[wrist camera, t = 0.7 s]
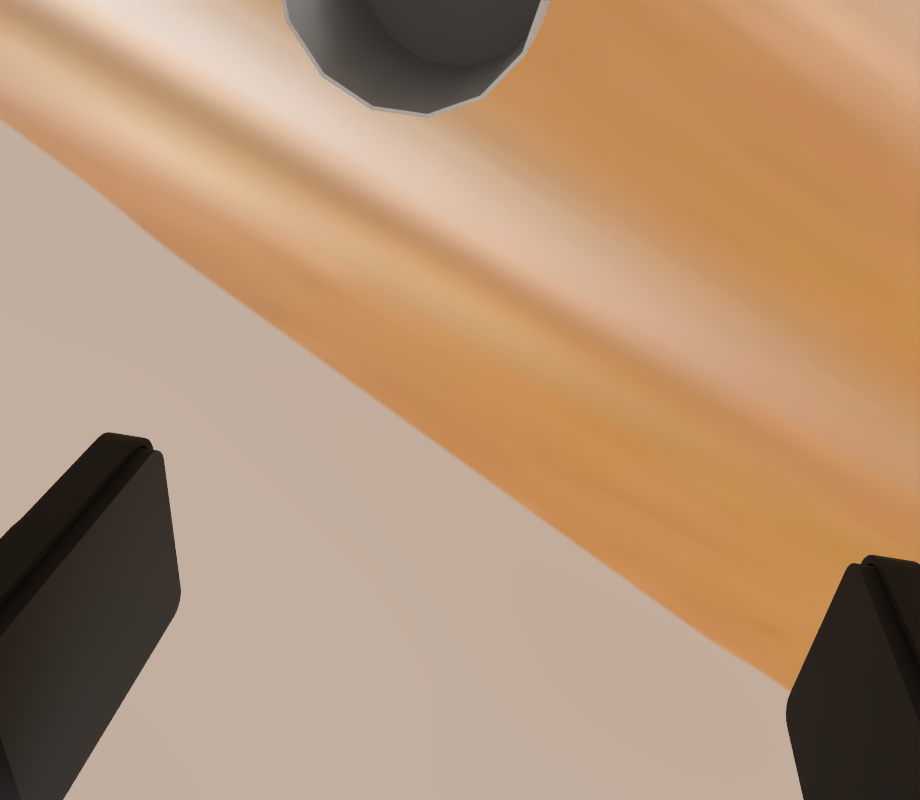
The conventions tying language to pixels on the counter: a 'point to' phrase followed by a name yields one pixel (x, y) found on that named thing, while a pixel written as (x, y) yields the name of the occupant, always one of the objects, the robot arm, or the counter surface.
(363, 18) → the cup
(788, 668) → the counter surface
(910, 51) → the counter surface
